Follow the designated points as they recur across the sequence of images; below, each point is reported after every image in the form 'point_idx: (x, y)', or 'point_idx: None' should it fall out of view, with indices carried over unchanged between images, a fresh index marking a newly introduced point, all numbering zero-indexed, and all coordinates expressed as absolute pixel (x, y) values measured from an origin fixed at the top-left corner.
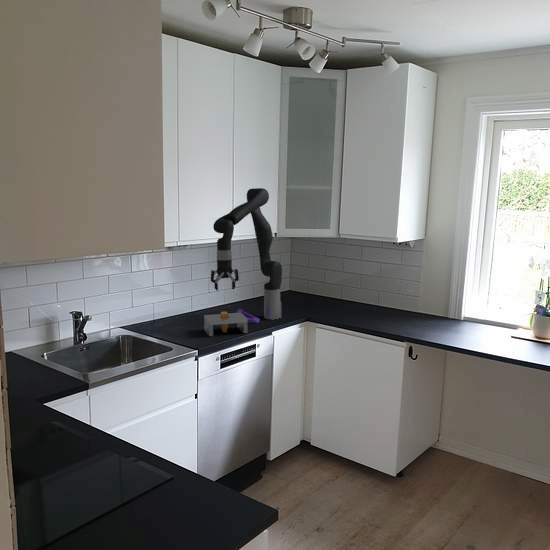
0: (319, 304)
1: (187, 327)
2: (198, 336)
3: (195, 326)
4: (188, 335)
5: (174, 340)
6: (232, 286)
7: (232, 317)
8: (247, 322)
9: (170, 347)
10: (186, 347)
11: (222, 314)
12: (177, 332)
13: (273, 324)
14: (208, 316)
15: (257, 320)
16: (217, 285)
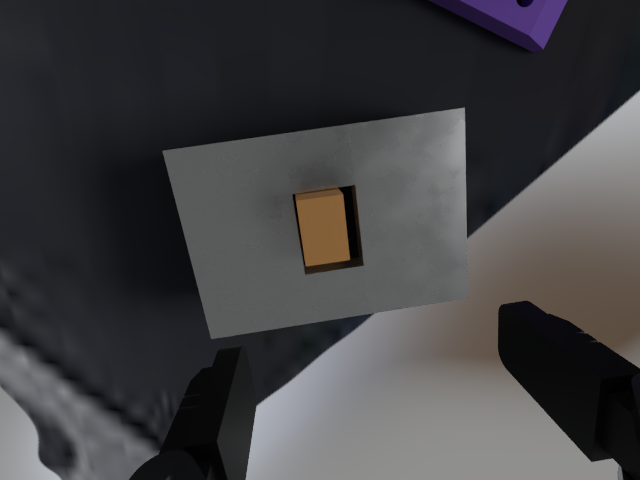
0: None
1: (74, 58)
2: (171, 280)
3: (128, 40)
4: (112, 253)
5: (52, 333)
6: (527, 366)
7: (376, 258)
8: (483, 24)
9: (59, 431)
10: (133, 437)
11: (307, 264)
12: (32, 179)
13: (620, 88)
14: (201, 201)
15: (556, 15)
16: (238, 475)
